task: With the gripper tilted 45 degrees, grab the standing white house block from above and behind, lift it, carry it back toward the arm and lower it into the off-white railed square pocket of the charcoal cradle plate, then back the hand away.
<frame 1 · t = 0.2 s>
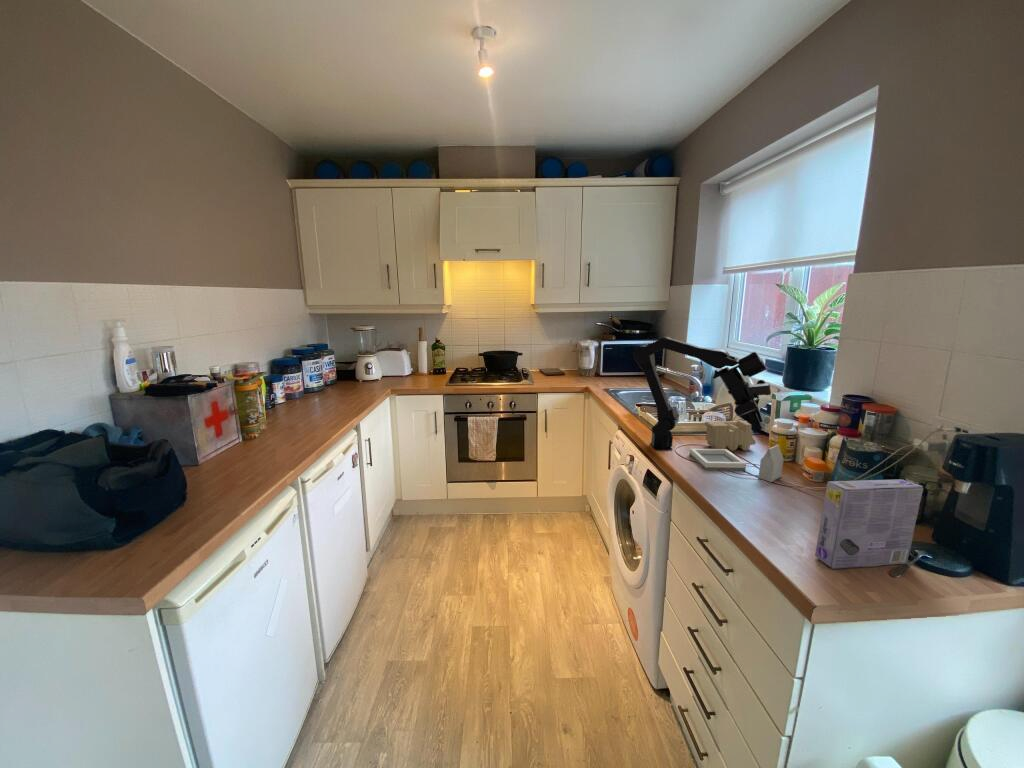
hand: (760, 425, 134), 14 cm above the worktop, tool tilted 35°, fingers open, 9 cm apart
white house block: (769, 477, 128), on the worktop
toy train: (728, 448, 152), on the worktop
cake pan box: (861, 561, 87), on the worktop
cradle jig: (716, 462, 139), on the worktop
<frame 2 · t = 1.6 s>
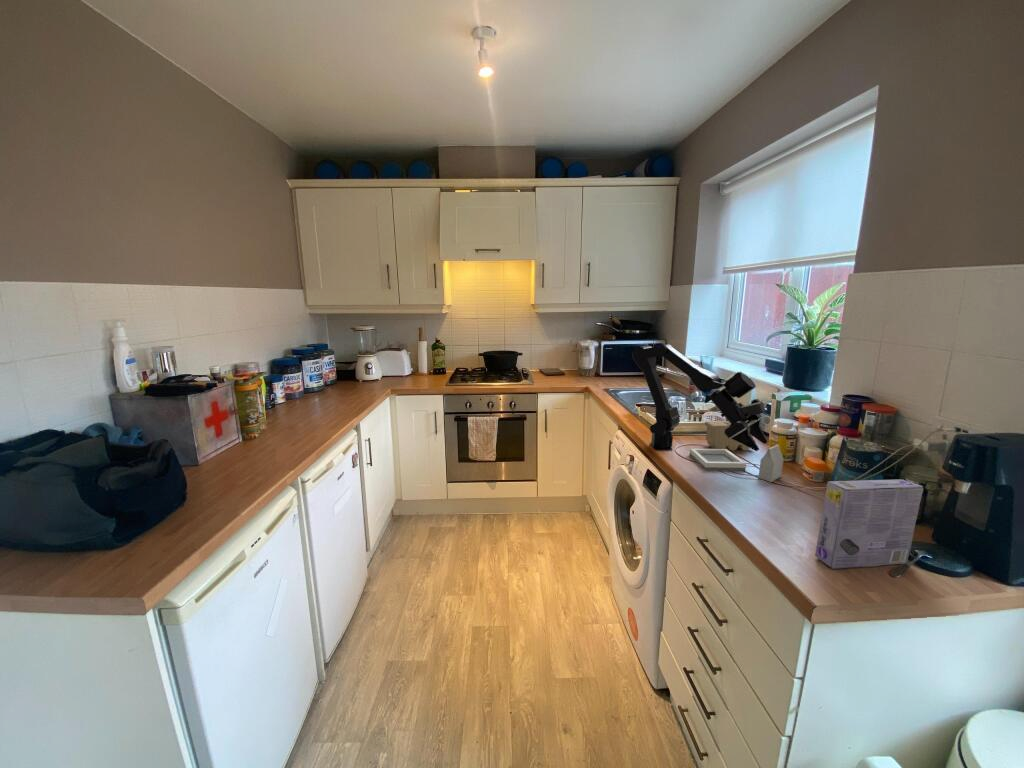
hand: (762, 446, 128), 9 cm above the worktop, tool tilted 45°, fingers open, 9 cm apart
nothing on the worktop moved.
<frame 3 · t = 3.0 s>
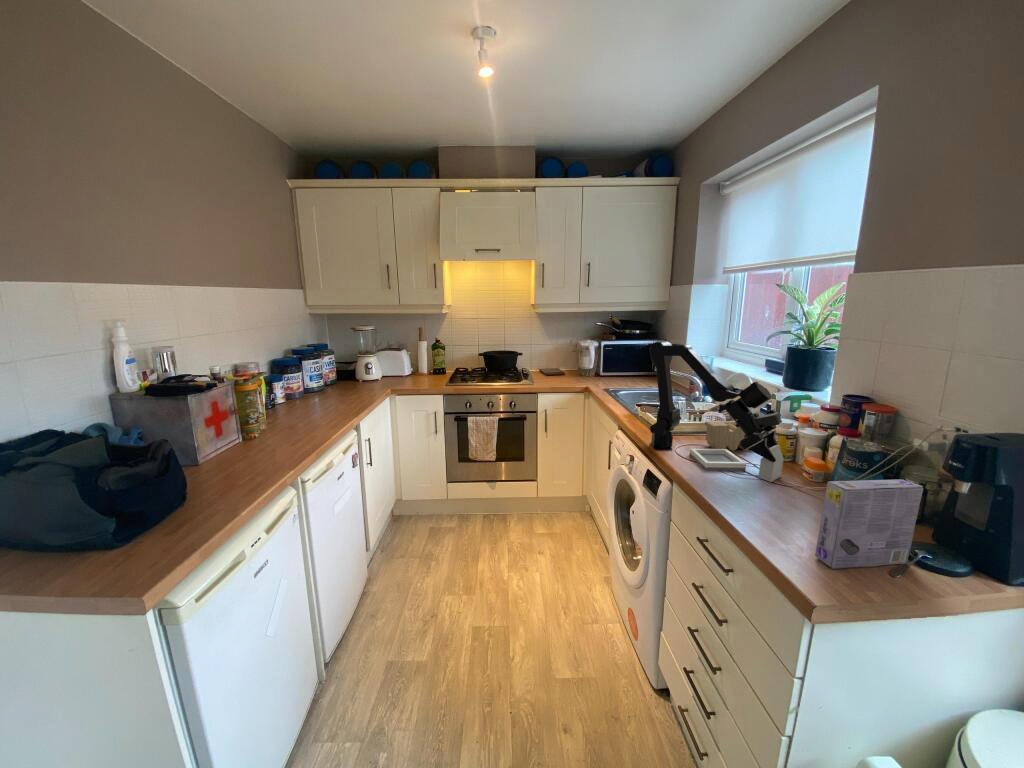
hand: (777, 458, 125), 7 cm above the worktop, tool tilted 45°, fingers closed on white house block, 7 cm apart
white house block: (769, 477, 128), on the worktop, touching gripper
everything else where it was.
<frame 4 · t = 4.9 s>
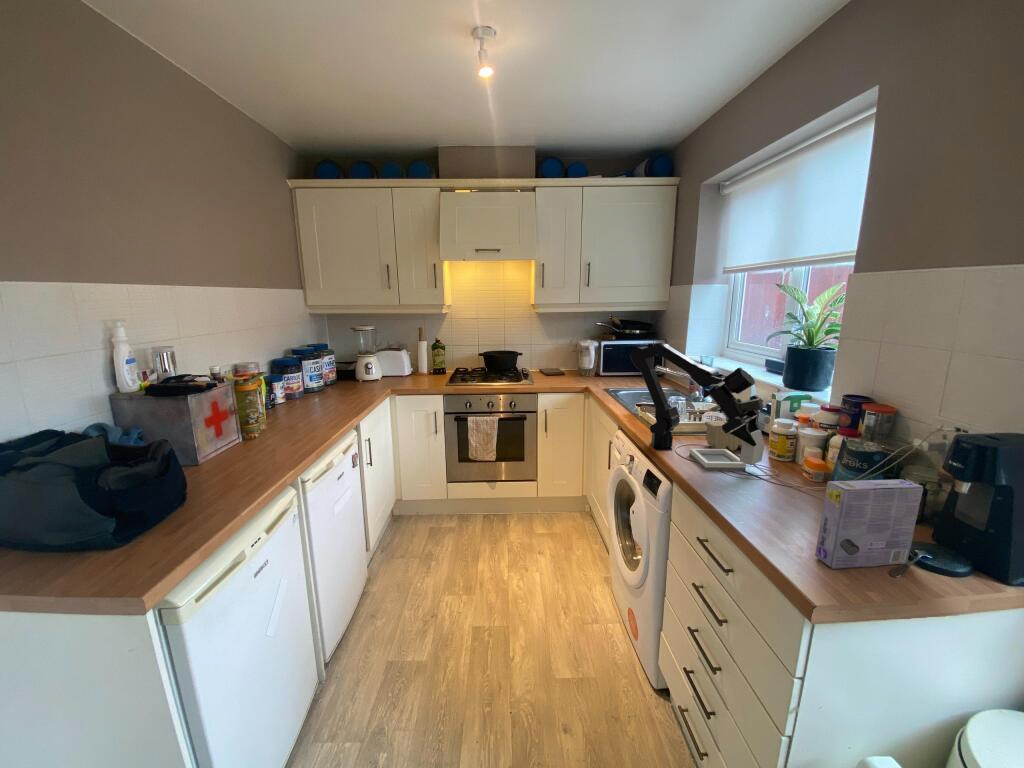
hand: (758, 442, 129), 10 cm above the worktop, tool tilted 45°, fingers closed on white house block, 7 cm apart
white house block: (750, 461, 131), point 3 cm above the worktop, touching gripper
everything else where it was.
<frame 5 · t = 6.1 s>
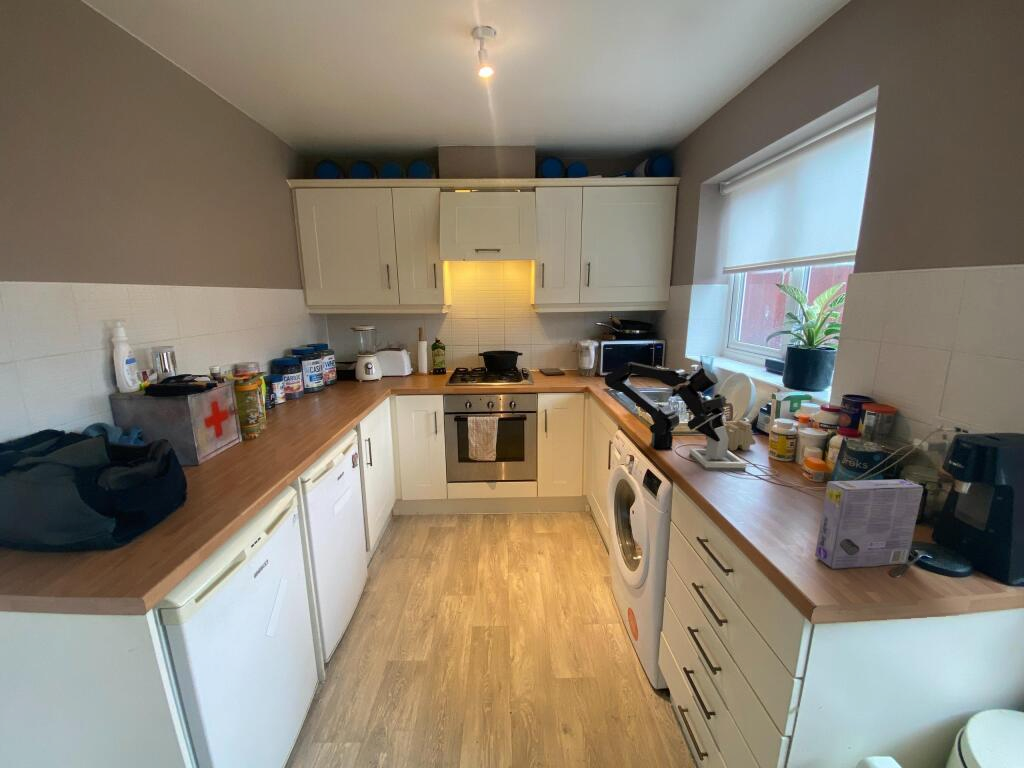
hand: (722, 438, 136), 9 cm above the worktop, tool tilted 45°, fingers closed on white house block, 7 cm apart
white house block: (715, 456, 138), point 2 cm above the worktop, touching gripper
everything else where it was.
when the fingers open (8 cm above the worktop, at t = 6.8 s): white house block stays where it is, resting on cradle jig.
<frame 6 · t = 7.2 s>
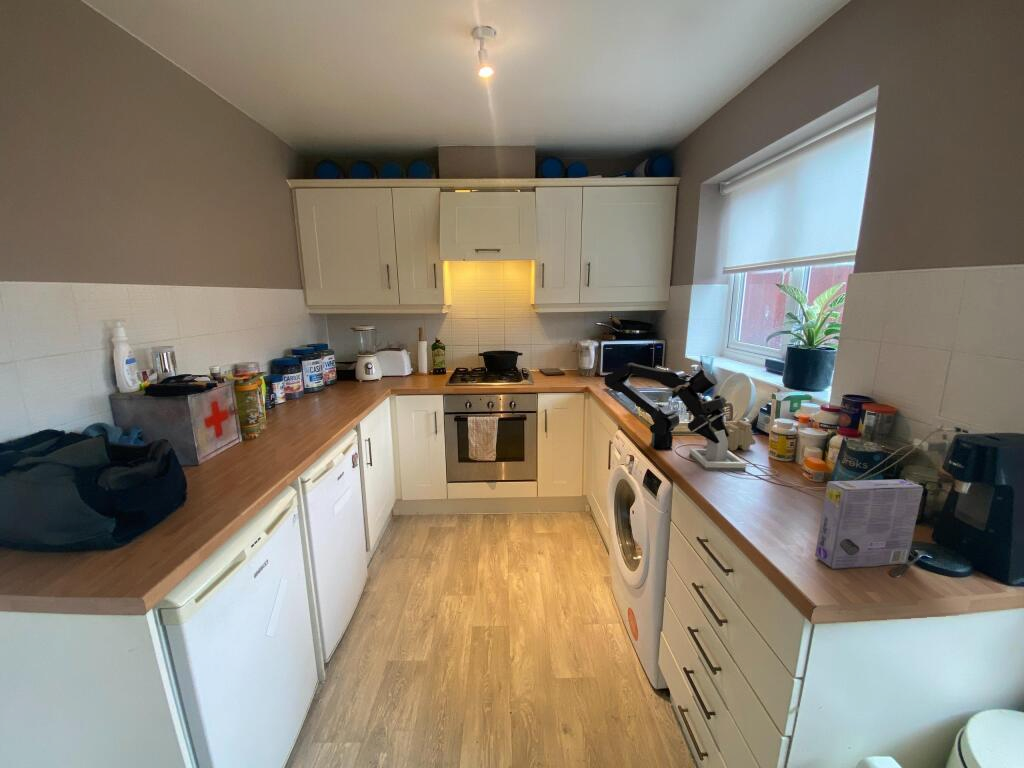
hand: (723, 439, 136), 9 cm above the worktop, tool tilted 45°, fingers open, 9 cm apart
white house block: (715, 460, 139), point 1 cm above the worktop, touching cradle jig
everything else where it was.
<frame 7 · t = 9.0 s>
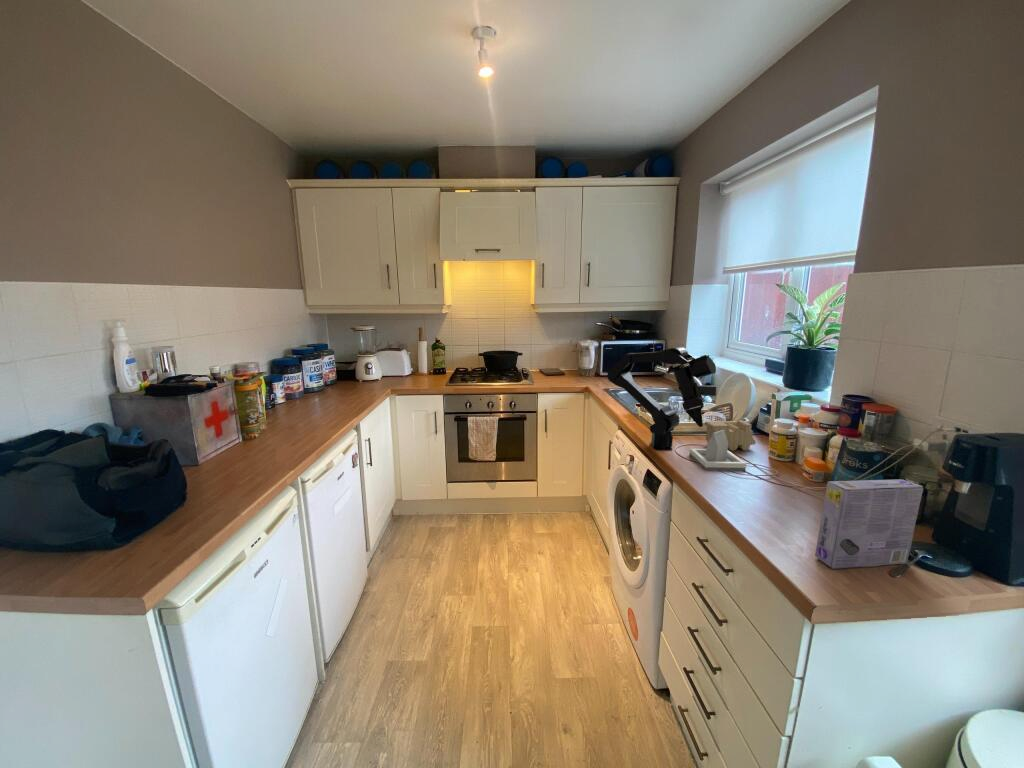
hand: (701, 424, 141), 12 cm above the worktop, tool tilted 25°, fingers open, 9 cm apart
nothing on the worktop moved.
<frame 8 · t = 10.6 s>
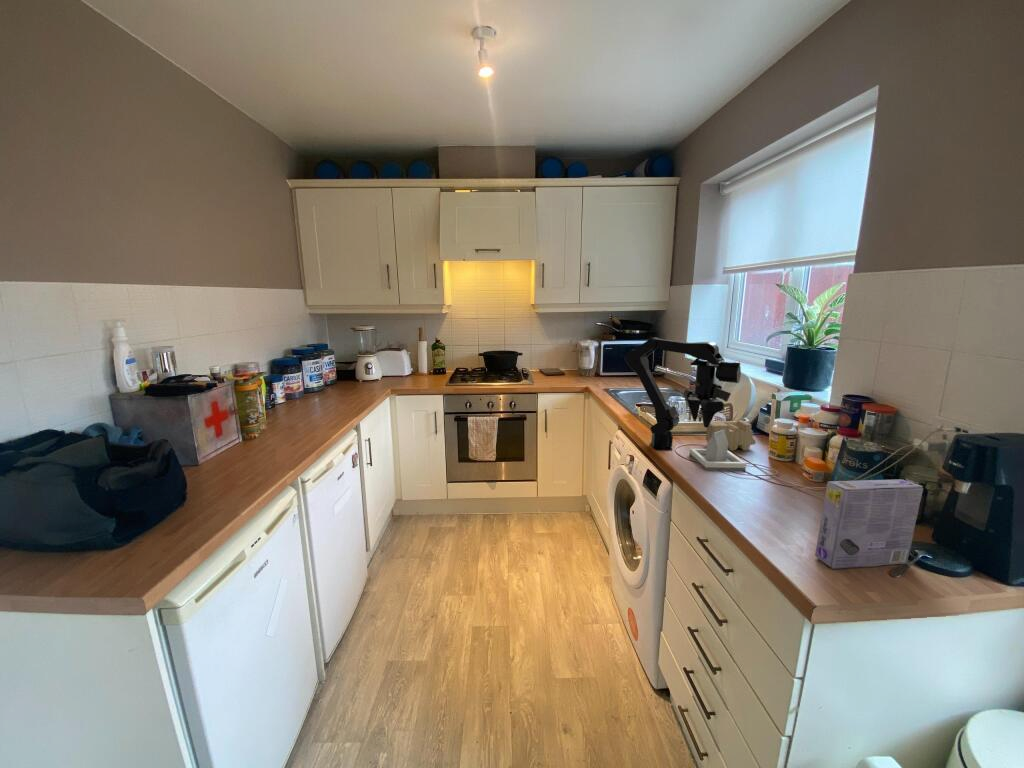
hand: (700, 423, 142), 12 cm above the worktop, tool pointing down, fingers open, 9 cm apart
nothing on the worktop moved.
at the end: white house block 0.2 cm off-centre on the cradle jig, point 0.8 cm above the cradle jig's base; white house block tilted 0°; the gripper is holding nothing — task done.
